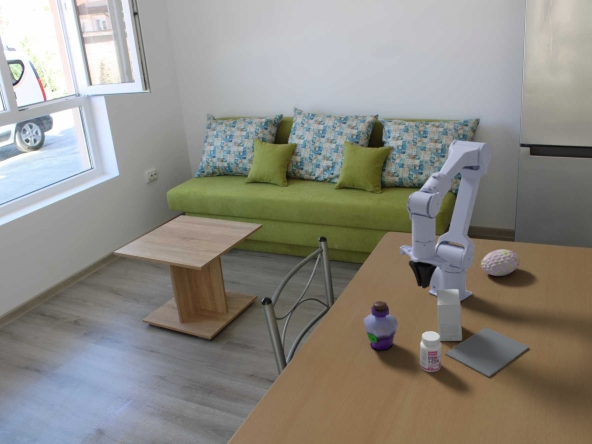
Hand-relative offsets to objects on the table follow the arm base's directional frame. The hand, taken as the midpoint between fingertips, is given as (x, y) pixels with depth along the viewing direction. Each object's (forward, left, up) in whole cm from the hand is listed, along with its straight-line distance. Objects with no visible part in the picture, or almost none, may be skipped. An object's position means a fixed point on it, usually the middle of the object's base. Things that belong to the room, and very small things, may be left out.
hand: (423, 285), depth 143 cm
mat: (+20, 0, -10) cm, 22 cm away
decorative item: (-1, +36, -11) cm, 38 cm away
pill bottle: (+14, -14, -11) cm, 22 cm away
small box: (+9, 0, -10) cm, 14 cm away
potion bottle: (0, -16, -11) cm, 19 cm away
